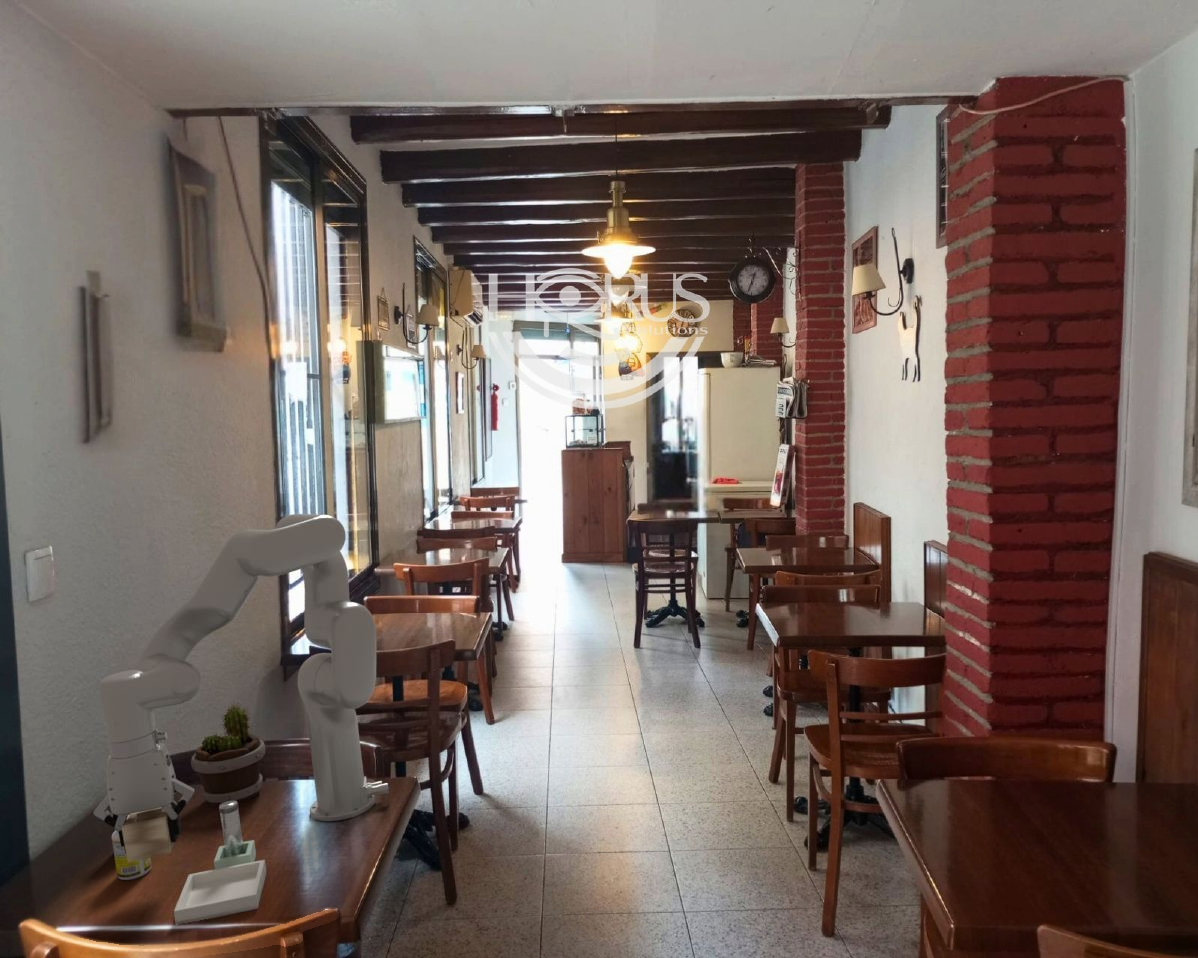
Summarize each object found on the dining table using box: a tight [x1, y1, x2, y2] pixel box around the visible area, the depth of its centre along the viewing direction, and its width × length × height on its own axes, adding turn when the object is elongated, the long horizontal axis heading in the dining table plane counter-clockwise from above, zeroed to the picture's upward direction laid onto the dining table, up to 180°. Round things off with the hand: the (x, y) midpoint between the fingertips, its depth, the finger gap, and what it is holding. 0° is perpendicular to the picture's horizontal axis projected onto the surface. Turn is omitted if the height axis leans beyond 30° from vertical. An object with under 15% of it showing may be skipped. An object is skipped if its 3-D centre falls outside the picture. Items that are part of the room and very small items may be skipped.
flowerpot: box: [190, 702, 266, 807], centre depth 197 cm, size 14×15×20 cm
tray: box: [173, 859, 267, 925], centre depth 155 cm, size 12×12×2 cm
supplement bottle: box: [111, 815, 152, 881], centre depth 167 cm, size 6×6×10 cm
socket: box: [213, 839, 257, 869], centre depth 166 cm, size 6×6×3 cm
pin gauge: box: [218, 801, 244, 857], centre depth 166 cm, size 3×3×11 cm
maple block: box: [122, 807, 176, 862], centre depth 159 cm, size 7×7×6 cm
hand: (152, 842), depth 159 cm, fingers closed on maple block, 6 cm apart
